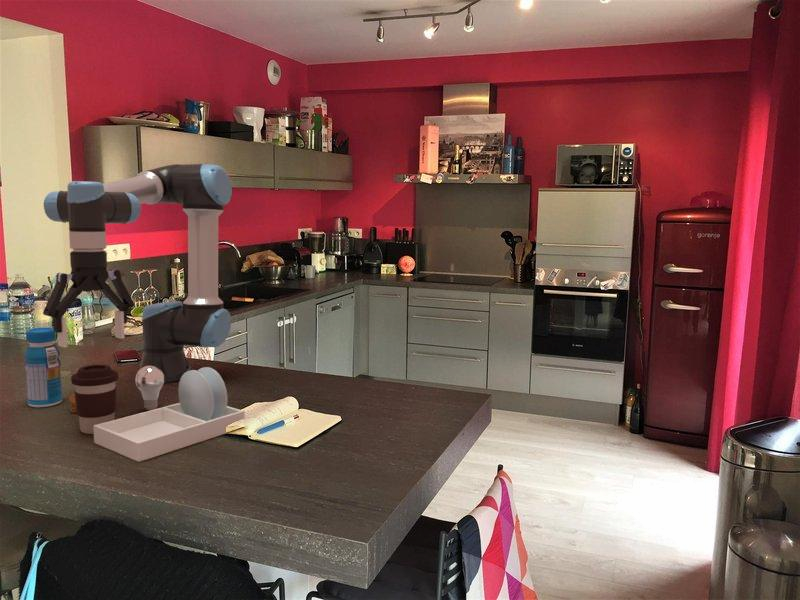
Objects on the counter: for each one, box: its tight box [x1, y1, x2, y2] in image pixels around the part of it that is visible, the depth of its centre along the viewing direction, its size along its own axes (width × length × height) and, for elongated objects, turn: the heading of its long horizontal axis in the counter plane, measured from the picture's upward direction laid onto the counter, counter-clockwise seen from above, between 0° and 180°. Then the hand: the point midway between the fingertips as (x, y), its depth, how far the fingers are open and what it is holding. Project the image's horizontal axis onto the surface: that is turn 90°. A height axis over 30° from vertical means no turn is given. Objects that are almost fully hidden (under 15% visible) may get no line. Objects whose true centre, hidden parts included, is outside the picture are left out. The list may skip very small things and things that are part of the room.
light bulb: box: [134, 365, 165, 411], centre depth 168 cm, size 7×7×12 cm
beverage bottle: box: [23, 326, 63, 408], centre depth 173 cm, size 8×8×20 cm
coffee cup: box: [70, 364, 119, 435], centre depth 154 cm, size 10×10×15 cm
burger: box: [68, 392, 77, 414], centre depth 170 cm, size 10×9×5 cm
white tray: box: [93, 402, 246, 463], centre depth 152 cm, size 28×18×4 cm, turn 143°
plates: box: [177, 366, 228, 421], centre depth 158 cm, size 4×13×13 cm, turn 53°
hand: (92, 342), depth 151 cm, fingers open, 13 cm apart
